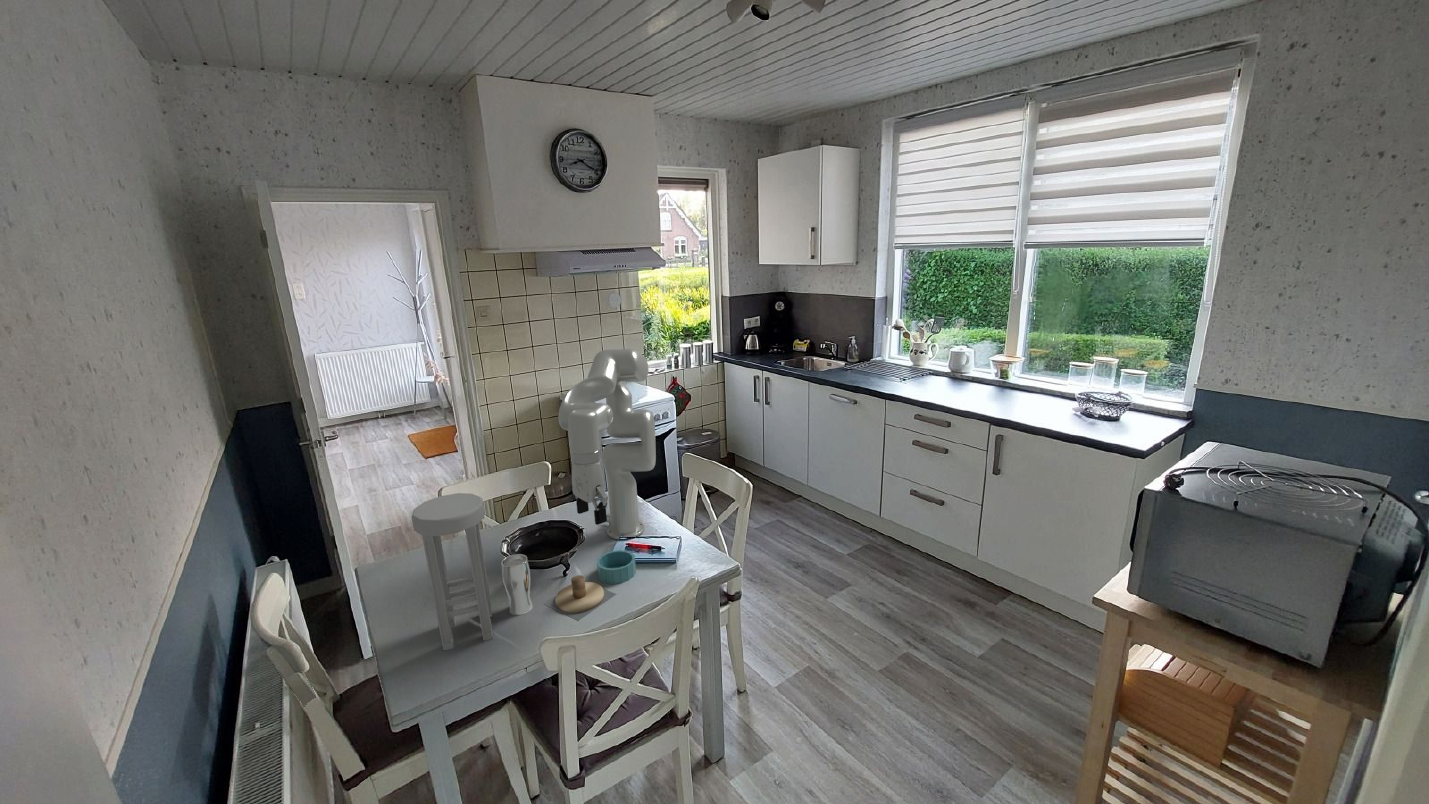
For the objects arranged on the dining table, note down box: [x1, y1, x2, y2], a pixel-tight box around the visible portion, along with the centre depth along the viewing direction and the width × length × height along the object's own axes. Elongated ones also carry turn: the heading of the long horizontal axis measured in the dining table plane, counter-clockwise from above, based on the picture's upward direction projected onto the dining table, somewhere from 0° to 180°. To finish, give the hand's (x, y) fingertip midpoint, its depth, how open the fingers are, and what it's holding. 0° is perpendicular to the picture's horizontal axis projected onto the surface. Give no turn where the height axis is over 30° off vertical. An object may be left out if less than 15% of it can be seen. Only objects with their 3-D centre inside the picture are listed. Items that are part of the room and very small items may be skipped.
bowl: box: [596, 549, 637, 585], centre depth 171 cm, size 11×11×5 cm
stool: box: [411, 492, 494, 651], centre depth 144 cm, size 16×16×35 cm
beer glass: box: [500, 553, 534, 616], centre depth 155 cm, size 7×7×15 cm
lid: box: [555, 574, 604, 613], centre depth 159 cm, size 13×13×6 cm
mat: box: [542, 580, 617, 622], centre depth 160 cm, size 14×14×1 cm
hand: (591, 517), depth 155 cm, fingers open, 9 cm apart
